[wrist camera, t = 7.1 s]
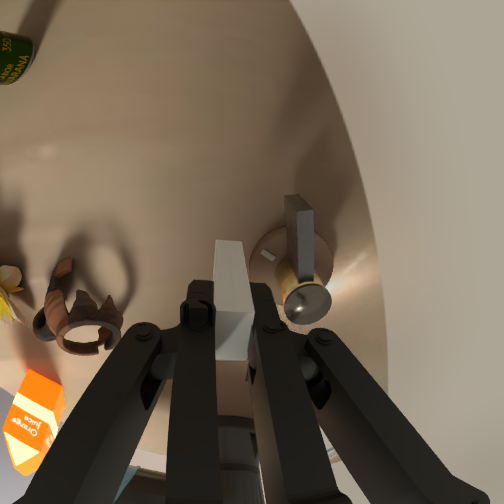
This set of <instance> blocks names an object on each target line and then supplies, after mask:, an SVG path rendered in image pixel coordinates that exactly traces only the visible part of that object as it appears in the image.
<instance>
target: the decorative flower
mask: <svg viewBox="0 0 504 504" xmlns="http://www.w3.org/2000/svg"><path fill="white" fill-rule="evenodd" d="M21 277H22V275H21V272H20V270H19V268H17V267H13V266H7V265H3V266H1V267H0V319H1V320H2V322H3V323H4V324H5V325H6V326H7V327H10V328H12V327H13V321H12V318H13V319H15V320H17V321H19V322H21V323H22V324H24V325H25V326H26V327H28V328H30V326H29V325H28V323H27V322H26V320H25V318H24V317H23V315H22V314H21V312H20V311H19V309H18V308H17V307H16V306H15V304H14V303H13V302H12V301H11V300H10V299H9V298H10V297H9V295H8V293H10V292H17V291H20V290H23V287H18V285H19V283H20V281H21ZM7 292H8V293H7ZM8 297H9V298H8ZM11 317H12V318H11Z"/></svg>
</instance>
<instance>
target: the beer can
mask: <svg viewBox="0 0 504 504" xmlns="http://www.w3.org/2000/svg"><path fill="white" fill-rule="evenodd" d="M34 54H35V46H34V44H33V42H32V40H31V39H30V38H28V37H26V36H22V35H18V34H14V33H9V32H4V31H0V85H9V84H12V83H14V82H16V81H18V80H19V79H20V78H22V77H23V76H24V74H25V73H26V72H27V71H28V69H29V67H30V66H31V63H32V61H33V58H34Z"/></svg>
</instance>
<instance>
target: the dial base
mask: <svg viewBox="0 0 504 504" xmlns="http://www.w3.org/2000/svg"><path fill="white" fill-rule="evenodd" d="M286 257H288V255H287V235H286V226H285V227H281V228H278V229H276V230H273V231H271V232H270V233H268V234H267V235H265V236H264V237H263V238H262V239H261V240H260V241H259V242H258V243H257V245H256V246H255V248H254V249H253V252H252V254H251V257H250V262H249V269H250V275H251V280H252V282H254V283H266V284H267V285H268V286H269V287H270V288H271V291H272V294H273V297H274V302H275V304H277V305H284V304H283V300H282V297H281V294H280V291H279V288H278V285H277V282H276V278H275V269H276V267H277V265H278V264H279V262H280V261H281V260H283V259H284V258H286ZM314 269H315V271H316V273H317V275H318V277H319V278H320V280H321V282H322V284H323V285H324V287H325V286H326V285H327V283H328V281H329V280H330V277H331V275H332V272H333V256H332V253H331V250H330V248H329V247H328V245H327V244H326V243H325V241H324V240H323V239H322V238H321V237H320V235H319V234H317V233H316V232H315V231H314Z"/></svg>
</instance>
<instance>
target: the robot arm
mask: <svg viewBox="0 0 504 504" xmlns="http://www.w3.org/2000/svg"><path fill="white" fill-rule="evenodd" d="M247 355H248V360H249V363H248V368H247V374H246V380H245V381H248V379H249V387H250V395H251V402H252V410H253V417H254V421H253V420H249V419H245V418H239V417H217V395H216V360H230V361H246V360H247ZM172 378H173V386H172V396H171V406H170V417H169V429H168V444H167V462H166V473H163V472H158V471H153V470H148V469H144V468H140V466H131V465H129V464H130V461H131V459H132V457H133V455H134V452H135V450H136V448H137V445H138V443H139V441H140V439H141V436H142V434H143V432H144V429H145V427H146V425H147V423H148V421H149V418H150V416H151V414H152V412H153V409H154V407H155V405H156V403H157V401H158V398H159V396H160V394H161V392H162V390H163V387H164V385H165V383H166V380H167V379H172ZM318 423H319V424H318ZM319 425H320V427H321V428H322V430H323V431H324V433H325V435H326V436H327V438H328V439H329V441H330V442H331V444H332V446H333V447H334V449H335V450H336V452H337V453H338V455H339V457H340V458H341V460H342V461H343V463H344V464H345V466H346V467H347V469H348V470H349V472H350V474H351V475H352V476H353V478H354V480H355V481H356V483H357V484H358V485H359V487H360V488H361V490H362V491H363V493H364V495H365V496H366V497H367V499H368V500H369V502H370V503H371V504H490V499H489V497H488V495H487V494H486V493H485V492H483V491H481V490H479V489H477V488H475V487H473V486H471V485H469V484H467V483H466V482H464V481H462V480H460V479H458V478H457V477H455V476H453V475H452V474H451V473H450V472H449V471H448V469H447V468H446V467H445V466H444V464H443V463H442V462H441V460H440V459H439V458H438V457H437V455H436V454H435V453H434V452H433V451H432V449H431V448H430V447H429V446H428V444H427V443H426V442H425V441H424V439H423V438H422V437H421V436H420V434H419V433H418V432H417V431H416V430H415V428H414V427H413V426H412V425H411V424H410V422H409V421H408V420H407V419H406V417H405V416H404V415H403V414H402V412H401V411H400V410H399V409H398V408H397V406H396V405H395V404H394V403H393V402H392V400H391V399H390V398H389V397H388V395H387V394H386V393H385V392H384V391H383V389H382V388H381V387H380V386H379V385H378V383H377V382H376V381H375V380H374V379H373V377H372V376H371V375H370V374H369V373H368V371H367V370H366V369H365V368H364V367H363V365H362V364H361V363H360V362H359V361H358V359H357V358H356V357H355V356H354V355H353V354H352V352H351V351H350V350H349V349H348V348H347V346H346V345H345V344H344V343H343V342H342V340H341V339H340V338H339V337H338V336H337V335H336V334H335V333H334V332H333V331H331V330H328V329H325V328H315V329H312V330H311V331H310V332H309V333H308V335H304V334H299V333H296V332H292V331H290V330H289V328H288V326H287V325H286V323H284V322H283V321H282V320H280V317H279V314H278V311H277V307H276V304H275V302H274V297H273V294H272V291H271V288H270V287H269V286H268V285H267V284H266V283H254V282H249V279H248V274H247V268H246V263H245V257H244V252H243V247H242V241H229V240H216V242H215V255H214V270H213V281H207V280H193V281H192V282H191V283H190V284H189V286H188V292H187V298H186V300H185V301H184V302H182V304H181V306H180V324H179V325H177V326H176V327H174V328H171V329H166V330H160V329H159V328H158V327H157V326H156V325H154V324H152V323H148V322H141V323H136V324H134V325H132V326H131V327H130V328H129V329H128V330H127V331H126V333H125V334H124V335H123V337H122V338H121V340H120V341H119V342H118V344H117V345H116V347H115V348H114V349H113V351H112V352H111V354H110V355H109V356H108V358H107V359H106V361H105V362H104V364H103V365H102V367H101V368H100V369H99V371H98V372H97V374H96V375H95V377H94V378H93V380H92V381H91V383H90V384H89V386H88V387H87V389H86V390H85V392H84V393H83V395H82V396H81V398H80V399H79V401H78V402H77V404H76V406H75V407H74V409H73V410H72V412H71V413H70V415H69V417H68V418H67V420H66V421H65V423H64V425H63V426H62V428H61V430H60V431H59V433H58V435H57V436H56V438H55V440H54V441H53V443H52V445H51V446H50V448H49V450H48V452H47V453H46V455H45V457H44V459H43V460H42V462H41V464H40V466H39V468H38V469H37V471H36V473H35V475H34V477H33V479H32V481H31V483H30V485H29V487H28V488H27V490H26V493H25V494H24V496H22V497H21V498H20V499H18V500H17V501H16V502H14V503H13V504H265V502H264V495H263V490H262V483H261V477H260V470H259V463H260V466H261V472H262V479H263V485H264V492H265V498H266V504H352V501H351V500H350V499H349V497H348V496H346V495H345V494H343V493H341V492H340V491H339V489H338V487H337V485H336V481H335V477H334V474H333V471H332V468H331V464H330V461H329V457H328V454H327V451H326V447H325V444H324V441H323V437H322V434H321V431H320V427H319Z"/></svg>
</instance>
